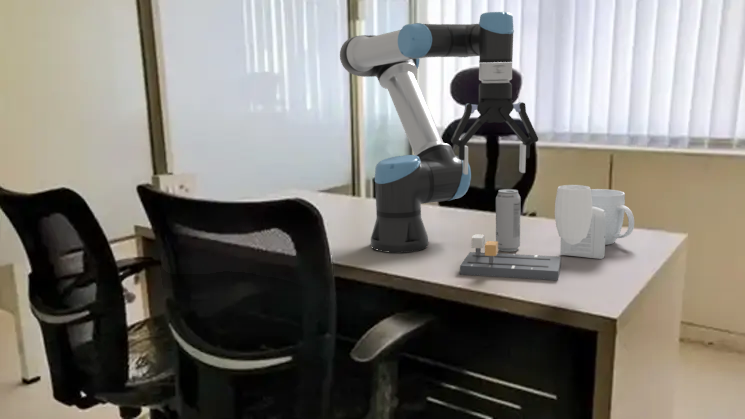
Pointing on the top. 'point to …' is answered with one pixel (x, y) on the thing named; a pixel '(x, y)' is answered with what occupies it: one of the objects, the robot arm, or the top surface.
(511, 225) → the energy drink can
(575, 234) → the cup
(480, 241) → the fader white
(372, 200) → the top surface
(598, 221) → the photo printer
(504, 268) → the console
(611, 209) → the mug
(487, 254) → the fader orange
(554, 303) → the top surface
